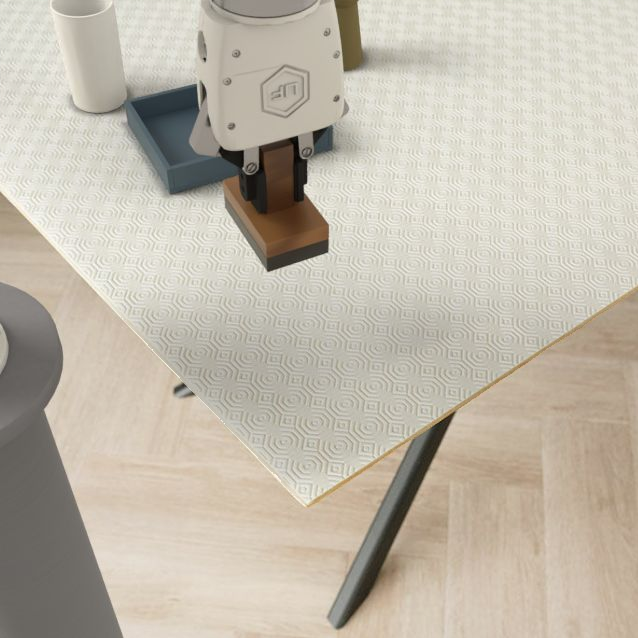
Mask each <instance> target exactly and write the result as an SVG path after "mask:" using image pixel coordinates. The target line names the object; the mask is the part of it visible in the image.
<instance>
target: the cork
mask: <svg viewBox="0 0 638 638" xmlns="http://www.w3.org/2000/svg"><path fill="white" fill-rule="evenodd" d="M359 1H360V0H334V3H335V8H336V13H337V18H338V25H339V32H340V39H341V47H342V57H343V72H344V71H345V72H346V71H351V70H354V69H356V68H359V66H361V64H362V63H363V61H364V60H363V59H364V56H363V45H362V35H361V25H360V15H359V14H360V13H359V3H358V2H359Z"/></svg>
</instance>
